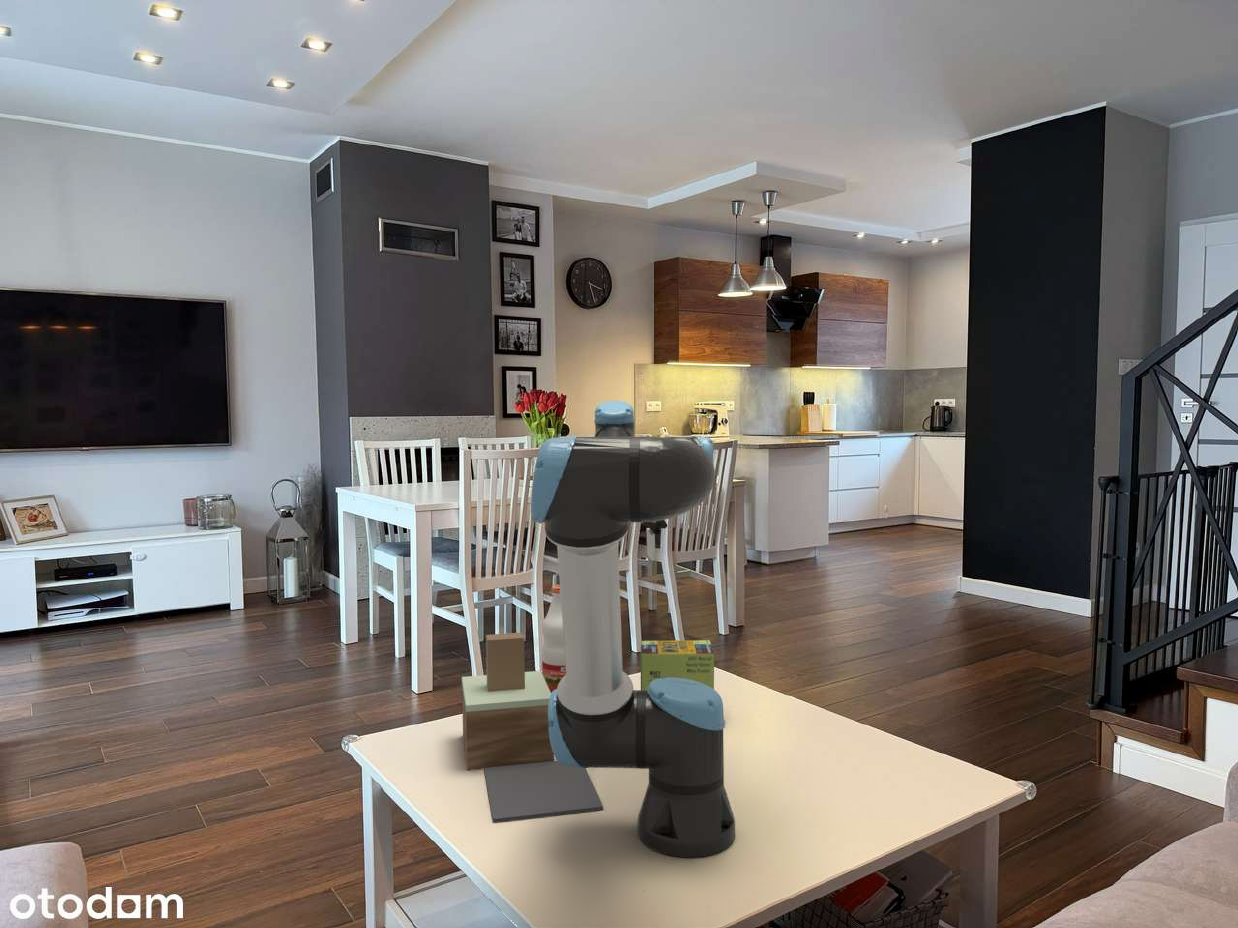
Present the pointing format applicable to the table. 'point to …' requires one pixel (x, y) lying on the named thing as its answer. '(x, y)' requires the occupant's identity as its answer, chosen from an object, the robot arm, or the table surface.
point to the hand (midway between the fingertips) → (621, 564)
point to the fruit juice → (553, 643)
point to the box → (506, 736)
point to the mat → (539, 791)
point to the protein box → (677, 661)
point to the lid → (505, 678)
